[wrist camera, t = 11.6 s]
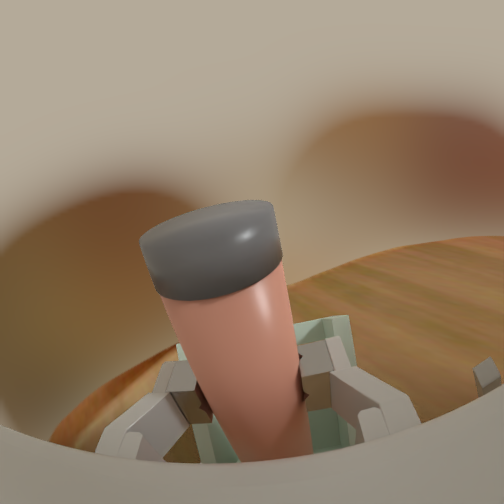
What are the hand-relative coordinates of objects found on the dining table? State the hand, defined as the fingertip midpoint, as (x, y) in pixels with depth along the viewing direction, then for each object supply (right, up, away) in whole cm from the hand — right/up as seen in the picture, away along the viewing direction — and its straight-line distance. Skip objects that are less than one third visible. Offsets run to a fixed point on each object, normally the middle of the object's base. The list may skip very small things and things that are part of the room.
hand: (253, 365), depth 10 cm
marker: (+1, -6, +1) cm, 7 cm away
